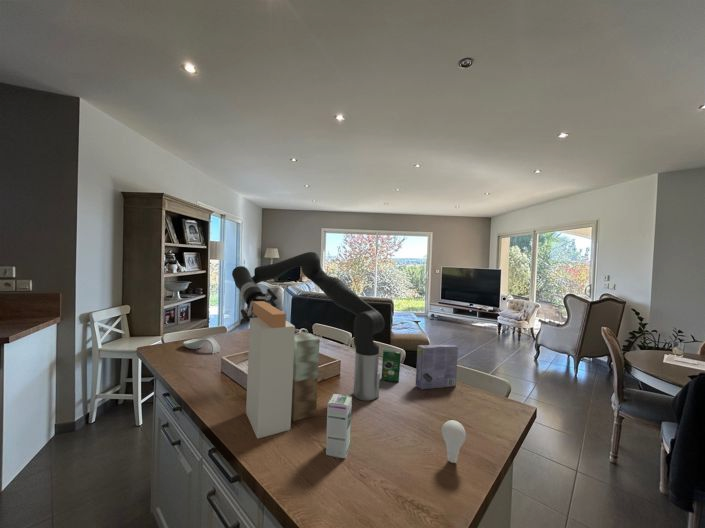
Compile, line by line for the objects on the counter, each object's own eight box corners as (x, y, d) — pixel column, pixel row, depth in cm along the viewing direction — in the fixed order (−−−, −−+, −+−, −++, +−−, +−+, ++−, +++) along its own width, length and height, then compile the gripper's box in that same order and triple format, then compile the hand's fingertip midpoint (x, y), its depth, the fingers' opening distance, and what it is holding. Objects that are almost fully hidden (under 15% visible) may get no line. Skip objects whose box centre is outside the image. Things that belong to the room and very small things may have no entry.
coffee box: (399, 380, 132) (401, 351, 131) (399, 382, 129) (400, 353, 129) (381, 377, 133) (383, 349, 133) (381, 380, 130) (382, 351, 130)
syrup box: (346, 459, 78) (348, 405, 78) (324, 455, 79) (327, 402, 79) (350, 446, 83) (352, 395, 83) (330, 442, 85) (332, 392, 84)
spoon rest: (178, 348, 161) (178, 335, 161) (197, 343, 171) (198, 331, 171) (207, 356, 150) (208, 342, 150) (226, 350, 161) (226, 337, 161)
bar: (252, 312, 108) (253, 301, 108) (263, 311, 110) (263, 301, 110) (272, 328, 86) (272, 314, 86) (285, 327, 88) (286, 313, 88)
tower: (307, 404, 106) (310, 333, 105) (316, 415, 99) (319, 338, 98) (285, 409, 101) (288, 335, 101) (293, 421, 95) (296, 341, 94)
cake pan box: (451, 381, 133) (453, 343, 132) (458, 386, 128) (461, 346, 128) (414, 385, 127) (416, 345, 126) (420, 390, 122) (422, 348, 122)
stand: (275, 406, 104) (279, 316, 103) (290, 429, 90) (295, 326, 89) (245, 412, 98) (249, 318, 98) (257, 438, 85) (261, 328, 84)
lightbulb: (436, 454, 81) (438, 415, 81) (458, 454, 82) (460, 415, 82) (445, 470, 75) (447, 428, 75) (468, 470, 76) (470, 428, 76)
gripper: (231, 300, 116) (242, 321, 104) (261, 277, 120) (275, 295, 107) (243, 311, 121) (254, 332, 109) (271, 289, 124) (285, 307, 112)
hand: (264, 314), depth 108 cm, fingers open, 8 cm apart
